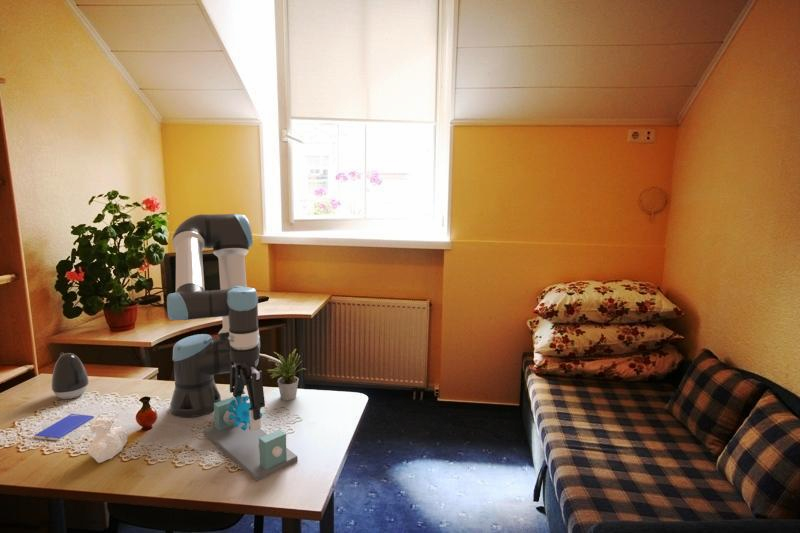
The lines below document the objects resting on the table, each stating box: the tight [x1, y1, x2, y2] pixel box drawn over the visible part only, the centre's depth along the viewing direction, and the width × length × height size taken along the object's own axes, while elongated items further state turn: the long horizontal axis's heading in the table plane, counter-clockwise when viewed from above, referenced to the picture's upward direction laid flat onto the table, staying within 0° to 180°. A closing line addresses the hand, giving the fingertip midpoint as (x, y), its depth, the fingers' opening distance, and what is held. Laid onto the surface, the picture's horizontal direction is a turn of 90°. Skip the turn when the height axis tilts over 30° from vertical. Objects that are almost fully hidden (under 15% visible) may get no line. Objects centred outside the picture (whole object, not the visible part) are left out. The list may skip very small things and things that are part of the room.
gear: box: [227, 395, 264, 430], centre depth 125 cm, size 11×6×10 cm
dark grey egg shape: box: [51, 352, 89, 400], centre depth 153 cm, size 10×10×15 cm
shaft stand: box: [203, 396, 299, 482], centre depth 125 cm, size 31×12×9 cm, turn 47°
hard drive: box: [33, 413, 95, 441], centre depth 134 cm, size 2×8×12 cm
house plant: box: [266, 348, 306, 401], centre depth 157 cm, size 14×14×16 cm
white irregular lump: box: [86, 416, 129, 464], centre depth 121 cm, size 12×8×11 cm
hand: (247, 423), depth 125 cm, fingers closed on gear, 8 cm apart
